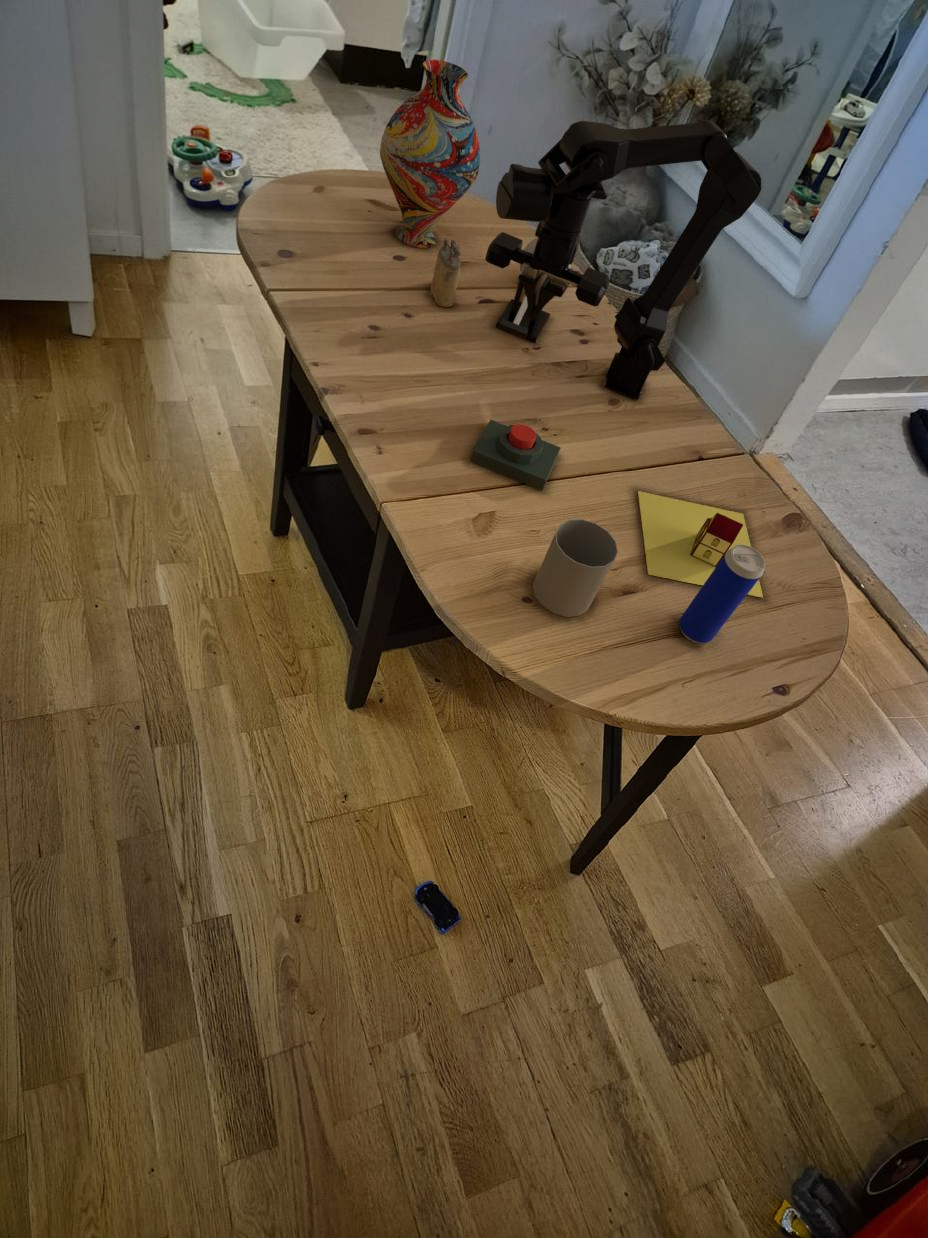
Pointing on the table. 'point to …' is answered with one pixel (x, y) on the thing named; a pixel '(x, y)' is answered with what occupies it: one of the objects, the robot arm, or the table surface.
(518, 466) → the button box
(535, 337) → the tap bracket
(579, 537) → the cup
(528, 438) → the button
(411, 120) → the vase
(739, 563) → the beverage can
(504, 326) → the lever
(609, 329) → the table surface
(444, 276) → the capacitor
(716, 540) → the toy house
